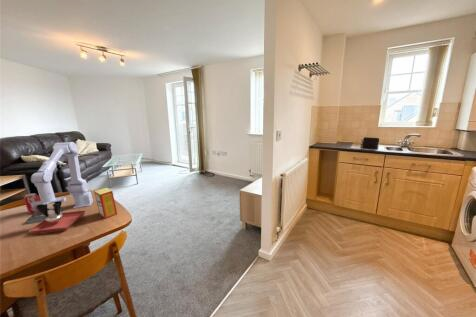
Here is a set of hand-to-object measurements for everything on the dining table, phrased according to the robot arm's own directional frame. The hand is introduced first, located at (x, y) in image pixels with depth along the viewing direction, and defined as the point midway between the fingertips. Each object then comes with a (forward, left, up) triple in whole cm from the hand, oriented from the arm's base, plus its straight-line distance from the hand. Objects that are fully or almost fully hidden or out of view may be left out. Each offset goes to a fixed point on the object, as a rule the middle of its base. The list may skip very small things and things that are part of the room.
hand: (53, 215), depth 110 cm
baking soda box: (-26, 0, -6) cm, 27 cm away
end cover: (0, 0, -3) cm, 3 cm away
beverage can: (+20, -25, -6) cm, 33 cm away
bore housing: (+10, -14, -6) cm, 18 cm away
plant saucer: (-3, +1, -6) cm, 7 cm away
